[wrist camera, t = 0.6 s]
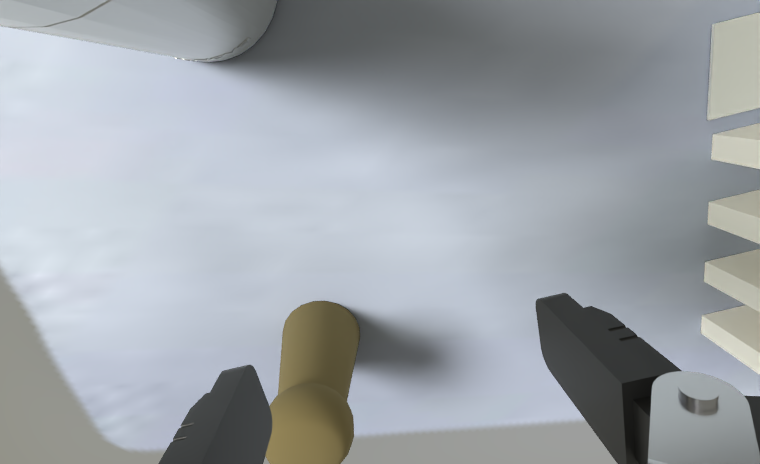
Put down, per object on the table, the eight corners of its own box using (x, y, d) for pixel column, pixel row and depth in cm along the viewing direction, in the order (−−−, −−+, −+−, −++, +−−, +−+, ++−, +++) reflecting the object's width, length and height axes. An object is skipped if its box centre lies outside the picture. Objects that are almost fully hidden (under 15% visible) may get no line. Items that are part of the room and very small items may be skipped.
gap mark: (712, 24, 25) (714, 23, 25) (807, 0, 25) (810, -1, 24) (706, 120, 27) (709, 120, 27) (794, 98, 27) (797, 98, 27)
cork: (280, 362, 32) (243, 494, 21) (285, 297, 30) (247, 407, 19) (355, 368, 32) (354, 500, 22) (364, 304, 30) (368, 416, 20)
